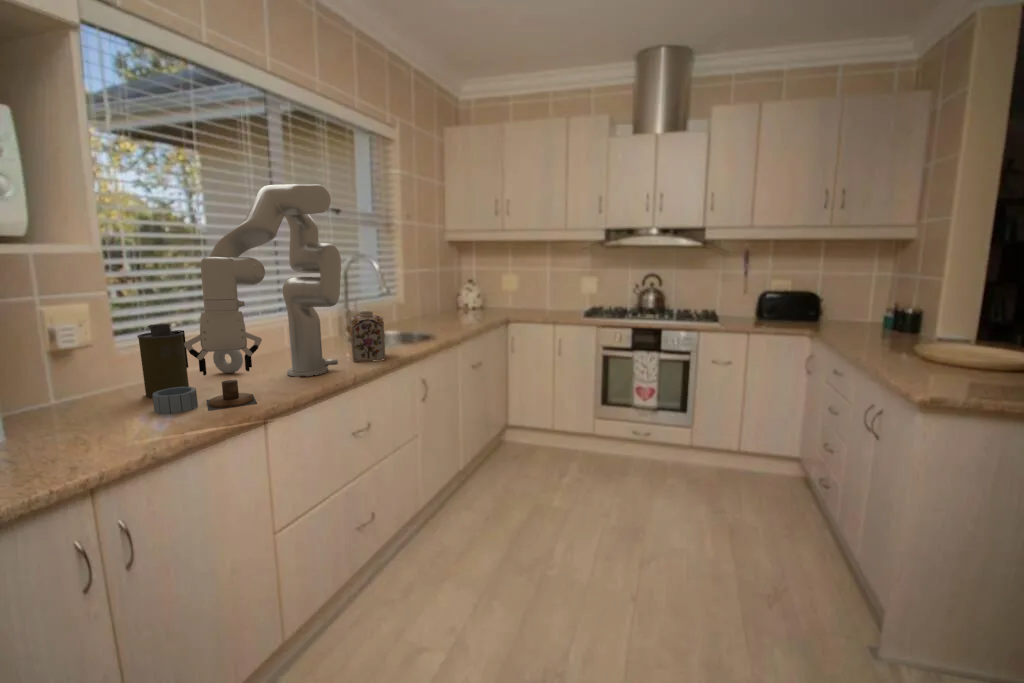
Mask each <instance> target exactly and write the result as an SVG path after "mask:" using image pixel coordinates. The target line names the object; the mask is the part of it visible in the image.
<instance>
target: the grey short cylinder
mask: <svg viewBox="0 0 1024 683" xmlns="http://www.w3.org/2000/svg"><path fill="white" fill-rule="evenodd" d="M152 396H153V398H152V402H153V409H154V410H153V411H154V413H155V414H158V415H175V414H181V413H186V412H190V411H193V410H195V409H197V408H198V407H199V404H198V403H199V402H198V394H197V387H193V386H189V387H175V388H168V389H163V390H159V391H157V392H154V393H153V395H152Z"/></svg>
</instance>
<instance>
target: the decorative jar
mask: <svg viewBox="0 0 1024 683" xmlns="http://www.w3.org/2000/svg"><path fill="white" fill-rule="evenodd" d="M349 320H350V322H349V323H350V337H351V342H350V343H351V354H352V361H353V363H361V362H360V361H368V362H374V361H373V360H382V359H386V346H385V344H386V342H385V336H386V335H385V324H384V318H383V316H381V315H378V314H377V315H376V314H375V315H374V313H373V311H372V310H371V311H370V310H362V311H359V315H353V316H351V317H350V318H349Z"/></svg>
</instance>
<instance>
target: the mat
mask: <svg viewBox="0 0 1024 683" xmlns="http://www.w3.org/2000/svg"><path fill="white" fill-rule="evenodd" d="M251 394H252V395H253V400H252V401H251V402H249V403H247V404H244V405H239V406H234V407H224V408H218V407H211V406H210V405H209V400H210V399H206V406H207V411H208V412H212V411H218V410H225V409H231V408H239V407H244V406H252V405H253V406H254V405H258V402H257V399H256V398H255V396H254V394H253V393H251Z"/></svg>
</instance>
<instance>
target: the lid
mask: <svg viewBox="0 0 1024 683" xmlns="http://www.w3.org/2000/svg"><path fill="white" fill-rule="evenodd" d="M238 383H239V382H238V380H237V379H228V380H224V381H222V382H221V388H222V394H221V395H217V396H214V397H212V398H210V399H208V400H209V405H210V406H211V407H218V408H224V407H233V408H235V407H234V406H239V405H244V404H247V403H249V402H251V401H252V400H253V396H254V394H253V393H249V392H247V393H246V392H240V391H239V384H238ZM252 394H253V395H252Z"/></svg>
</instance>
